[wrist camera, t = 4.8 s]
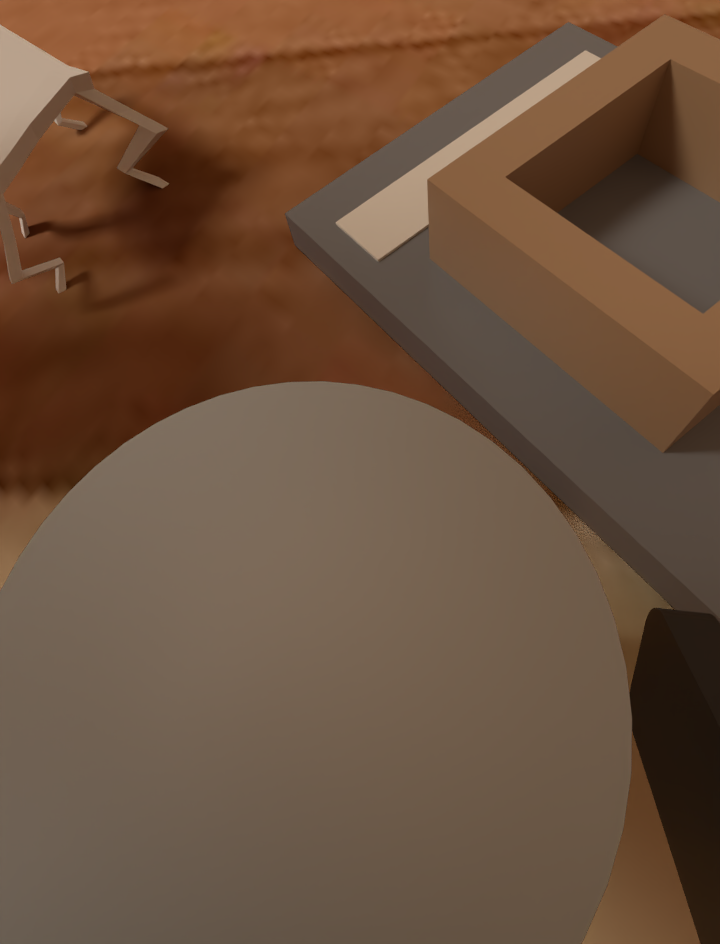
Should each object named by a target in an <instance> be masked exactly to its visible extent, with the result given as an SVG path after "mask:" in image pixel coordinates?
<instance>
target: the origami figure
mask: <svg viewBox="0 0 720 944" xmlns="http://www.w3.org/2000/svg"><path fill="white" fill-rule="evenodd" d="M73 96H76V97H79V98H81V99H83V100H85V101H88V102H90V103H92V104H94V105H97V106H99V107H101V108H103V109H106V110H108V111H110V112H112V113H115V114H117V115H119V116H121V117H124V118H126V119H128V120H130V121H132V122H134V123H136V124H138V125H139V127H138V129H137V131H136V133H135V135H134V136H133V138H132V140H131V142H130V144H129V146H128V148H127V150H126V151H125V153H124V155H123V157H122V159H121V161H120V163H119V165H118V166H117V169H119V170H121V171H122V172H124V173H125V174H128V175H130V176H133V177H135V178H138V179H140V180H143V181H145V182H148V183H150V184H153V185H155V186H158V187H160V188H164V187H165V186H167V185H169V183H167V182H166V181H164V180H163V179H161V178H159V177H157V176H154V175H151V174H149V173H146V172H143V171H140V170H137V169H134V168H133V167H134V166H135V165H136V163H137V162H138V161H139V160H140V159H141V158H142V157H143V156H144V155H145V154H146V153H147V151H148V150H149V149H150V148H151V147H152V146H153V145H154V144H155V143H156V142H157V141H158V139H159V138H160V137H161V136H162V135H163V134H164V133H165V132H166V131H167V130H168V128H167V127H165V126H163V125H161V124H159V123H157V122H156V121H154V120H152V119H150V118H148V117H146V116H144V115H142V114H140V113H138V112H137V111H135V110H133V109H131V108H129V107H127V106H125V105H124V104H122V103H120V102H118V101H116V100H114V99H112V98H110V97H109V96H107V95H105V94H103V93H101V92H99V91H97V90H96V89H94V86H93V83H92V80H91V77H90V74H89V72H87V71H84V70H81V69H77V68H74V67H71V66H67V65H66V64H64V63H62V62H61V61H59V60H58V59H56V58H54V57H53V56H51V55H49V54H48V53H47V52H46V51H44V50H42V49H40V48H38V47H36V46H34V45H33V44H31V43H29V42H28V41H26V40H25V39H23V38H21V37H20V36H18V35H16V34H15V33H13V32H11V31H10V30H8V29H6V28H5V27H3V26H1V25H0V230H1V234H2V238H3V242H4V248H5V254H6V261H7V267H8V274H9V278H10V281H11V283H12V284H13V283H16V282H19V281H22V280H24V279H27V278H30V277H33V276H36V275H38V274H41V273H44V272H47V271H50V270H52V269H56V290H57V292H58V294H59V293H61V292H63V291H65V290H66V279H65V269H64V262H63V261H62V260H61V258H57V259H54V260H51V261H48V262H45V263H42V264H39V265H36V266H33V267H31V268H28V269H25V270H22V269H21V264H20V259H19V254H18V249H17V245H16V240H15V236H14V232H13V228H12V225H11V221H10V218H9V214H11V215H14V216H16V217H19V219H20V225H21V230H22V234H23V235H24V237H25V238H26V237H27V236H28V235H29V229H28V225H27V222H26V218H25V214H24V213H23V211H22V210H21V209H19V208H17V207H15V206H13V205H11V204H9V203H7V202H5V199H4V196H3V194H4V192H5V191H6V189H7V188H8V186H9V185H10V183H11V182H12V180H13V179H14V177H15V176H16V175H17V173H18V172H19V170H20V169H21V167H22V166H23V164H24V163H25V161H26V159H27V158H28V156H29V155H30V153H31V152H32V150H33V148H34V147H35V145H36V144H37V142H38V141H39V139H40V138H41V137H42V135H43V134H44V133H45V132H46V130H47V129H48V128H49V126H50V125H51V124H52V123H53V121H55V122H56V124H57V125H59V126H64V127H68V128H73V129H78V130H83V129H84V128H86V127H87V125H86V124H85V123H84V122H82V121H76V120H70V119H64V118H61V113H60V112H61V111H62V110H63V109H64V107H65V106H66V105H67V103H68V102H69V101H70V100H71V98H72V97H73ZM8 213H9V214H8Z"/></svg>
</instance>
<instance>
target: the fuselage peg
mask: <svg viewBox="0 0 720 944" xmlns="http://www.w3.org/2000/svg"><path fill="white" fill-rule="evenodd" d="M631 765H632V713H631V705H630V696H629V687H628V679H627V670H626V664H625V660H624V656H623V652H622V648H621V644H620V640H619V635H618V631H617V627H616V623H615V619H614V616H613V613H612V611H611V608H610V606H609V603H608V600H607V598H606V595H605V593H604V590H603V587H602V585H601V582H600V580H599V577H598V574H597V572H596V570H595V568H594V567H593V565H592V563H591V561H590V559H589V557H588V555H587V553H586V552H585V550H584V548H583V546H582V544H581V542H580V540H579V539H578V537H577V535H576V533H575V532H574V530H573V529H572V527H571V526H570V524H569V523H568V522H567V520H566V519H565V517H564V516H563V515H562V513H561V512H560V510H559V509H558V508H557V506H556V505H555V503H554V502H553V501H552V499H551V498H550V497H549V495H548V494H547V493H546V492H545V491H544V490H543V489H542V488H541V487H540V486H539V485H538V483H537V482H536V481H535V480H534V479H533V478H532V477H531V476H530V475H529V474H528V473H527V471H526V470H525V469H524V468H523V467H522V466H521V465H519V464H518V463H517V462H516V461H515V460H514V459H512V458H511V457H510V456H509V455H508V454H506V453H505V452H504V451H503V450H502V449H501V448H499V447H498V446H497V445H496V444H495V443H494V442H492V441H491V440H489V439H488V438H486V437H485V436H483V435H482V434H480V433H479V432H477V431H476V430H474V429H473V428H471V427H470V426H468V425H466V424H465V423H463V422H462V421H460V420H458V419H456V418H454V417H452V416H450V415H448V414H446V413H444V412H442V411H440V410H438V409H436V408H434V407H432V406H430V405H428V404H425V403H423V402H420V401H417V400H414V399H411V398H408V397H405V396H402V395H399V394H397V393H394V392H390V391H385V390H380V389H376V388H371V387H367V386H362V385H357V384H346V383H335V382H325V381H316V382H286V383H278V384H271V385H264V386H256V387H251V388H247V389H243V390H239V391H235V392H232V393H228V394H224V395H220V396H217V397H214V398H212V399H209V400H206V401H204V402H201V403H198V404H196V405H193V406H190V407H188V408H185V409H183V410H181V411H179V412H177V413H175V414H173V415H171V416H169V417H167V418H165V419H163V420H161V421H159V422H157V423H155V424H154V425H152V426H151V427H149V428H147V429H146V430H144V431H143V432H141V433H140V434H138V435H136V436H135V437H133V438H132V439H130V440H129V441H127V442H125V443H124V444H123V445H121V446H120V447H119V448H118V449H116V450H115V451H114V452H113V453H111V454H110V455H109V456H108V457H106V458H105V459H104V460H102V461H101V462H100V463H99V464H97V465H96V466H95V467H94V468H93V469H92V470H91V471H90V472H89V473H88V474H87V475H86V476H85V477H84V478H83V479H82V480H80V481H79V482H78V483H77V484H76V485H75V486H74V487H73V488H72V489H71V490H70V491H69V492H68V493H67V494H66V495H65V497H64V498H63V499H62V500H61V501H60V503H59V504H58V505H57V506H56V507H55V508H54V510H53V511H52V512H51V513H50V514H49V516H48V517H47V518H46V519H45V520H44V522H43V523H42V524H41V526H40V527H39V528H38V530H37V531H36V533H35V534H34V536H33V537H32V539H31V540H30V542H29V543H28V544H27V546H26V547H25V549H24V550H23V552H22V553H21V555H20V556H19V558H18V560H17V562H16V563H15V565H14V567H13V569H12V571H11V572H10V574H9V576H8V578H7V580H6V582H5V583H4V585H3V587H2V589H1V591H0V944H581V943H582V942H583V940H584V938H585V935H586V933H587V931H588V929H589V926H590V924H591V922H592V919H593V917H594V915H595V913H596V910H597V908H598V906H599V903H600V901H601V899H602V897H603V894H604V892H605V890H606V887H607V885H608V882H609V878H610V875H611V871H612V867H613V864H614V860H615V857H616V853H617V850H618V846H619V843H620V839H621V836H622V832H623V828H624V821H625V814H626V807H627V800H628V793H629V786H630V779H631Z"/></svg>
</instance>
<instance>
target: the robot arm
mask: <svg viewBox="0 0 720 944" xmlns="http://www.w3.org/2000/svg"><path fill="white" fill-rule="evenodd" d="M630 705H631V713H632V731H633V735H634V738H635V741H636V744H637V747H638V750H639V754H640V757H641V760H642V763H643V766H644V769H645V772H646V775H647V778H648V781H649V785H650V788H651V791H652V794H653V797H654V800H655V803H656V806H657V809H658V812H659V816H660V819H661V822H662V825H663V828H664V831H665V834H666V837H667V840H668V844H669V847H670V850H671V853H672V856H673V859H674V862H675V865H676V868H677V871H678V875H679V878H680V881H681V884H682V887H683V890H684V893H685V896H686V899H687V902H688V906H689V909H690V912H691V915H692V918H693V921H694V924H695V927H696V930H697V934H698V937H699V940H700V943H701V944H720V623H719V621H718V620H717V619H716V617H715V616H713V615H712V614H710V613H701V612H691V611H681V610H671V609H661V608H653V609H652V610H651V611H650V612H649V614H648V616H647V619H646V623H645V627H644V632H643V636H642V640H641V645H640V649H639V653H638V658H637V662H636V666H635V671H634V675H633V679H632V684H631V689H630Z"/></svg>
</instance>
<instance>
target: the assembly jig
mask: <svg viewBox="0 0 720 944" xmlns="http://www.w3.org/2000/svg"><path fill="white" fill-rule="evenodd" d="M285 216H286V219H287V222H288V225H289V228H290V231H291V234H292V237H293V240H294V243H295V246H296V247H297V248H298V249H300V250H301V251H302V252H303V253H304V254H305V255H306V256H307V257H308V258H309V259H310V260H311V261H312V262H313V263H314V264H315V265H316V266H317V267H318V268H319V269H320V270H321V271H323V272H324V273H325V274H326V275H327V276H328V277H329V278H330V279H331V280H332V281H333V282H334V283H335V284H336V285H337V286H338V287H339V288H340V289H341V290H342V291H343V292H344V293H345V294H347V295H348V296H349V297H350V298H351V299H352V300H353V301H354V302H355V303H356V304H357V305H358V306H359V307H360V308H361V309H362V310H363V311H364V312H365V313H366V314H367V315H368V316H369V317H371V318H372V319H373V320H374V321H375V322H376V323H377V324H378V325H379V326H380V327H381V328H382V329H383V330H384V331H385V332H386V333H387V334H388V335H389V336H390V337H391V338H392V339H393V340H395V341H396V342H397V343H398V344H399V345H400V346H401V347H402V348H403V349H404V350H405V351H406V352H407V353H408V354H409V355H410V356H411V357H412V358H413V359H414V360H415V361H416V362H418V363H419V364H420V365H421V366H422V367H423V368H424V369H425V370H426V371H427V372H428V373H429V374H430V375H431V376H432V377H433V378H434V379H435V380H436V381H437V382H438V383H439V384H440V385H442V386H443V387H444V388H445V389H446V390H447V391H448V392H449V393H450V394H451V395H452V396H453V397H454V398H455V399H456V400H457V401H458V402H459V403H460V404H461V405H462V406H463V407H464V408H466V409H467V410H468V411H469V412H470V413H471V414H472V415H473V416H474V417H475V418H476V419H477V420H478V421H479V422H480V423H481V424H482V425H483V426H484V427H485V428H486V429H487V430H488V431H490V432H491V433H492V434H493V435H494V436H495V437H496V438H497V439H498V440H499V441H500V442H501V443H502V444H503V445H504V446H505V447H506V448H507V449H508V450H509V451H510V452H511V453H512V454H514V455H515V456H516V457H517V458H518V459H519V460H520V461H521V462H522V463H523V464H524V465H525V466H526V467H527V468H528V469H529V470H530V471H531V472H532V473H533V474H534V475H535V476H537V477H538V478H539V479H540V480H541V481H542V482H543V483H544V484H545V485H546V486H547V487H548V488H549V489H550V490H551V491H552V492H553V493H554V494H555V495H556V496H557V497H558V498H559V499H561V500H562V501H563V502H564V503H565V504H566V505H567V506H568V507H569V508H570V509H571V510H572V511H573V512H574V513H575V514H576V515H577V516H578V517H579V518H580V519H581V520H582V521H583V522H585V523H586V524H587V525H588V526H589V527H590V528H591V529H592V530H593V531H594V532H595V533H596V534H597V535H598V536H599V537H600V538H601V539H602V540H603V541H604V542H605V543H606V544H607V545H609V546H610V547H611V548H612V549H613V550H614V551H615V552H616V553H617V554H618V555H619V556H620V557H621V558H622V559H623V560H624V561H625V562H626V563H627V564H628V565H629V566H630V567H632V568H633V569H634V570H635V571H636V572H637V573H638V574H639V575H640V576H641V577H642V578H643V579H644V580H645V581H646V582H647V583H648V584H649V585H650V586H651V587H652V588H653V589H654V590H656V591H657V592H658V593H659V594H660V595H661V596H662V597H663V598H664V599H665V600H666V601H667V602H668V603H669V604H670V605H671V606H672V607H673V608H674V609H675V610H681V611H691V612H701V613H710V614H712V615H713V616H715V617H716V619H717V620H718V621H719V623H720V39H718V38H715V37H713V36H711V35H709V34H707V33H705V32H702V31H700V30H698V29H696V28H694V27H691V26H689V25H687V24H685V23H683V22H680V21H678V20H676V19H674V18H672V17H670V16H667V15H665V14H664V15H663V16H661V17H660V18H659V19H657V20H656V21H654V22H653V23H651V24H650V25H649V26H647V27H646V28H644V29H643V30H641V31H640V32H638V33H637V34H636V35H634V36H633V37H631V38H630V39H628V40H627V41H626V42H624V43H623V44H621V45H620V46H618V47H617V46H615V45H613V44H611V43H609V42H607V41H605V40H603V39H601V38H599V37H597V36H595V35H593V34H591V33H589V32H587V31H585V30H583V29H581V28H579V27H577V26H575V25H573V24H571V23H569V22H568V23H566V24H565V25H564V26H562V27H561V28H559V29H558V30H556V31H555V32H553V33H552V34H550V35H549V36H547V37H546V38H544V39H543V40H541V41H540V42H538V43H537V44H535V45H534V46H532V47H531V48H529V49H528V50H526V51H525V52H524V53H522V54H521V55H519V56H518V57H516V58H515V59H513V60H512V61H510V62H509V63H507V64H506V65H504V66H503V67H501V68H500V69H498V70H497V71H495V72H494V73H492V74H491V75H489V76H488V77H486V78H485V79H484V80H482V81H481V82H479V83H478V84H476V85H475V86H473V87H472V88H470V89H469V90H467V91H466V92H464V93H463V94H461V95H460V96H458V97H457V98H455V99H454V100H452V101H451V102H449V103H448V104H446V105H445V106H444V107H442V108H441V109H439V110H438V111H436V112H435V113H433V114H432V115H430V116H429V117H427V118H426V119H424V120H423V121H421V122H420V123H418V124H417V125H415V126H414V127H412V128H411V129H409V130H408V131H406V132H405V133H404V134H402V135H401V136H399V137H398V138H396V139H395V140H393V141H392V142H390V143H389V144H387V145H386V146H384V147H383V148H381V149H380V150H378V151H377V152H375V153H374V154H372V155H371V156H369V157H368V158H366V159H365V160H364V161H362V162H361V163H359V164H358V165H356V166H355V167H353V168H352V169H350V170H349V171H347V172H346V173H344V174H343V175H341V176H340V177H338V178H337V179H335V180H334V181H332V182H331V183H329V184H328V185H326V186H325V187H324V188H322V189H321V190H319V191H318V192H316V193H315V194H313V195H312V196H310V197H309V198H307V199H306V200H304V201H303V202H301V203H300V204H298V205H297V206H295V207H294V208H292V209H291V210H289V211H288V212H287V213H285Z"/></svg>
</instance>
